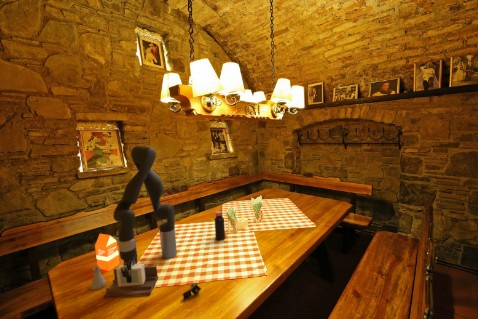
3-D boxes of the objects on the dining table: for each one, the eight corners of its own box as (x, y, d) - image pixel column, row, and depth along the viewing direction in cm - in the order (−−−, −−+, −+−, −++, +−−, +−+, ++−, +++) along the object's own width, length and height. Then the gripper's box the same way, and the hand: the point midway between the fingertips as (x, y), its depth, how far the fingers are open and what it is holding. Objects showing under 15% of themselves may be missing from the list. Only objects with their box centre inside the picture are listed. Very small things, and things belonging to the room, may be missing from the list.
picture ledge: (116, 282, 122) (114, 268, 121) (157, 279, 122) (156, 266, 122) (104, 298, 110) (102, 284, 109) (150, 294, 111) (148, 280, 110)
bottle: (216, 236, 169) (214, 210, 166) (225, 236, 169) (224, 210, 166) (215, 240, 162) (213, 213, 159) (224, 240, 162) (223, 213, 159)
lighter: (188, 303, 107) (182, 297, 105) (187, 301, 109) (180, 295, 107) (201, 289, 110) (195, 283, 108) (200, 287, 111) (193, 281, 109)
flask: (89, 292, 115) (86, 273, 113) (92, 283, 121) (89, 266, 120) (105, 287, 118) (103, 269, 116) (107, 279, 124) (105, 262, 123)
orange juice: (108, 271, 132) (104, 238, 129) (97, 268, 135) (93, 236, 132) (120, 263, 139) (116, 232, 137) (109, 261, 142) (105, 230, 140)
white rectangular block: (118, 287, 113) (115, 270, 112) (122, 281, 118) (120, 265, 116) (142, 285, 114) (140, 268, 113) (145, 279, 118) (143, 263, 117)
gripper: (129, 254, 106) (133, 288, 109) (140, 240, 121) (144, 270, 123) (112, 255, 106) (117, 289, 108) (126, 240, 120) (130, 271, 122)
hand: (131, 279), depth 115 cm, fingers closed on white rectangular block, 4 cm apart
